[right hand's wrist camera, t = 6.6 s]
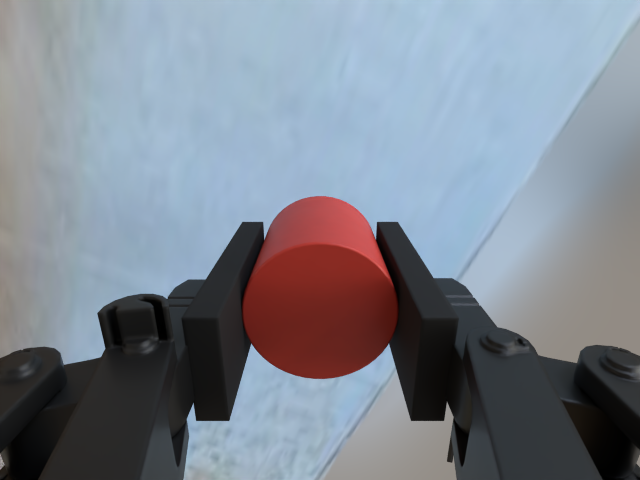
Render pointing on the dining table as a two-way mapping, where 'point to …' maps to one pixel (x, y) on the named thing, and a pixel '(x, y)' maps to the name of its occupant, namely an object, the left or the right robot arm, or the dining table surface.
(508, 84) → the dining table surface
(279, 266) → the canister
